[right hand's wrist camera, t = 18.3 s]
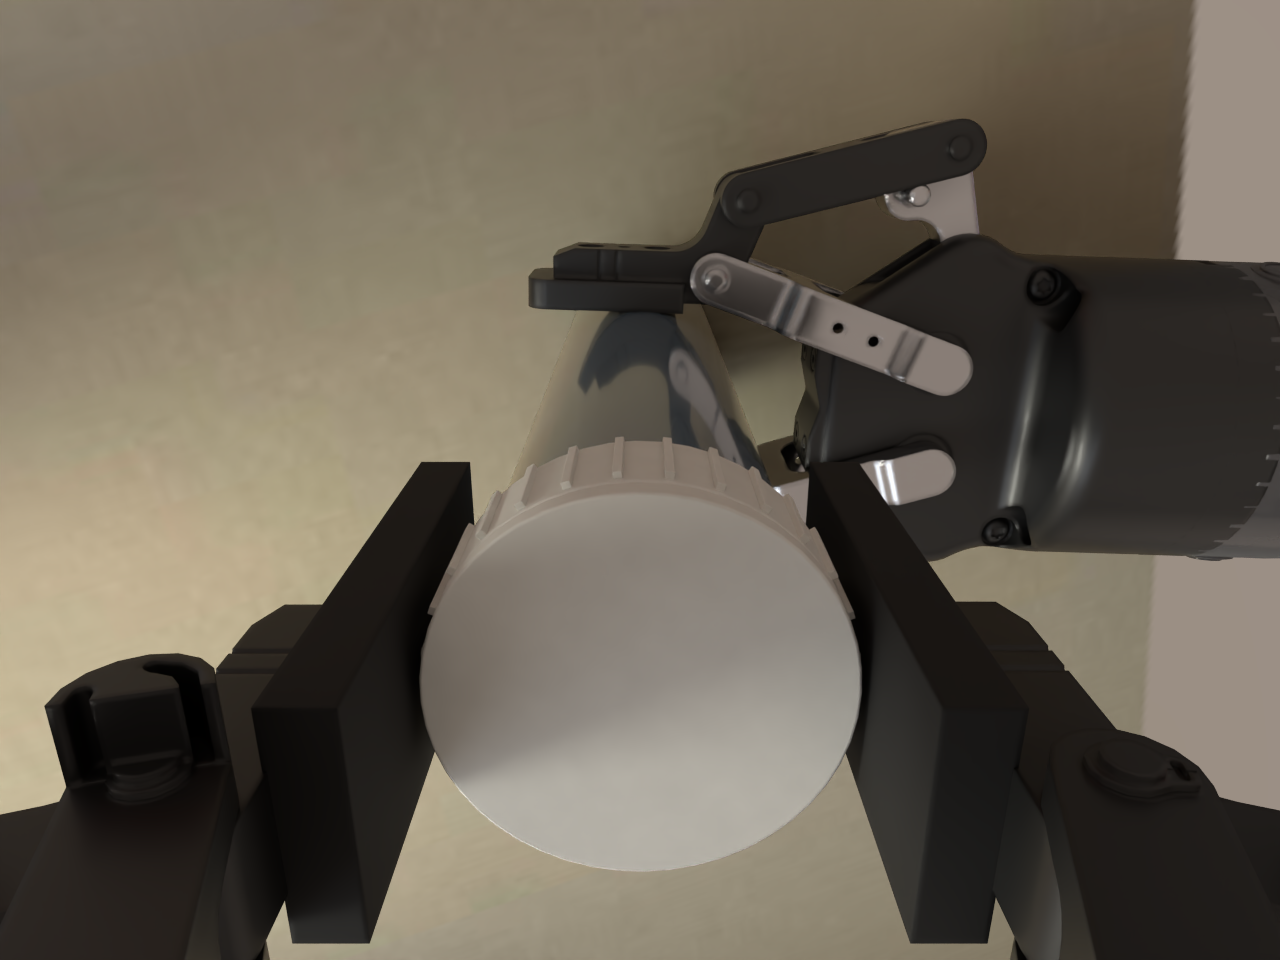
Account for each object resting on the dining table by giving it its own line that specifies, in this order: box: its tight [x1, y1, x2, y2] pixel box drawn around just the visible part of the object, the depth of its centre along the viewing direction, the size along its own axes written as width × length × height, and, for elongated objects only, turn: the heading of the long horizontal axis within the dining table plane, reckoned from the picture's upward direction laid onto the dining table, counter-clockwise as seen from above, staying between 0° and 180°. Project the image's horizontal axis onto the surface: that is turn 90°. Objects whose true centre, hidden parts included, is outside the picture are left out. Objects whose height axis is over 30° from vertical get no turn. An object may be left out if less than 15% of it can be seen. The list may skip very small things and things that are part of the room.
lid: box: [419, 437, 862, 871], centre depth 11 cm, size 5×5×2 cm
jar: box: [508, 304, 773, 488], centre depth 20 cm, size 4×4×20 cm
